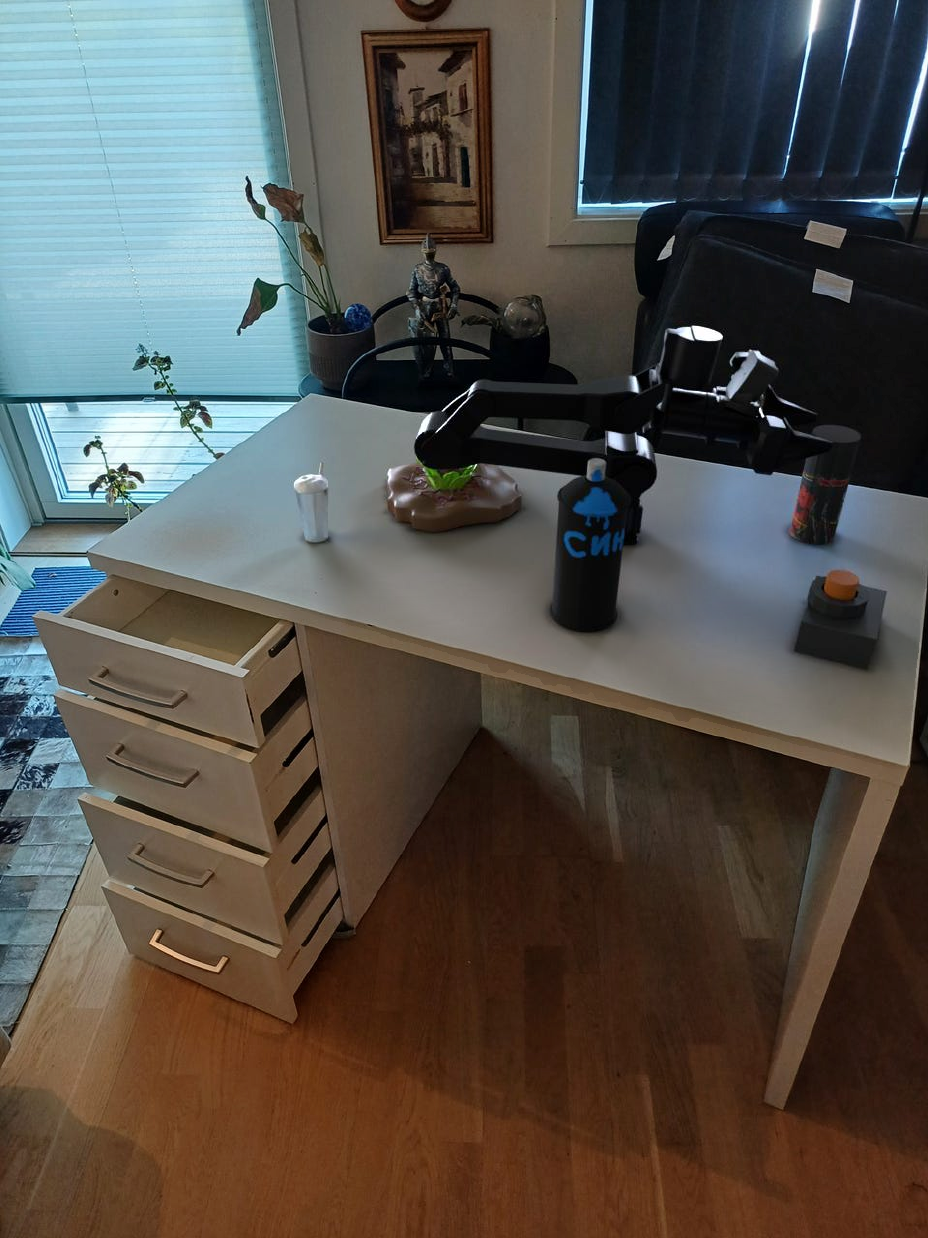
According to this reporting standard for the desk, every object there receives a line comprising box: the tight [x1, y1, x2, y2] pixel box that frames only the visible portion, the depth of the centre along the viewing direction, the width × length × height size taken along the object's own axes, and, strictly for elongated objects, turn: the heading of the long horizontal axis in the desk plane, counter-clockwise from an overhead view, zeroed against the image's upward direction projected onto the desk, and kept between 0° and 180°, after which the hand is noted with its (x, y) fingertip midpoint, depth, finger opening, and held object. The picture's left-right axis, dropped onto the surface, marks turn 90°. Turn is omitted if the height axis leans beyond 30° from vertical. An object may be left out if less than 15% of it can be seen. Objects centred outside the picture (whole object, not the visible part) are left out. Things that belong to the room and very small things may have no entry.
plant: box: [386, 457, 522, 533], centre depth 132 cm, size 20×20×11 cm
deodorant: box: [789, 424, 862, 546], centre depth 122 cm, size 6×6×15 cm
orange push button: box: [824, 569, 860, 600], centre depth 102 cm, size 3×3×2 cm
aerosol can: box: [549, 458, 631, 633], centre depth 104 cm, size 8×8×20 cm
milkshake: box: [293, 462, 329, 544], centre depth 123 cm, size 4×5×10 cm
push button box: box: [793, 575, 888, 671], centre depth 104 cm, size 11×8×6 cm
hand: (824, 432), depth 115 cm, fingers open, 9 cm apart
